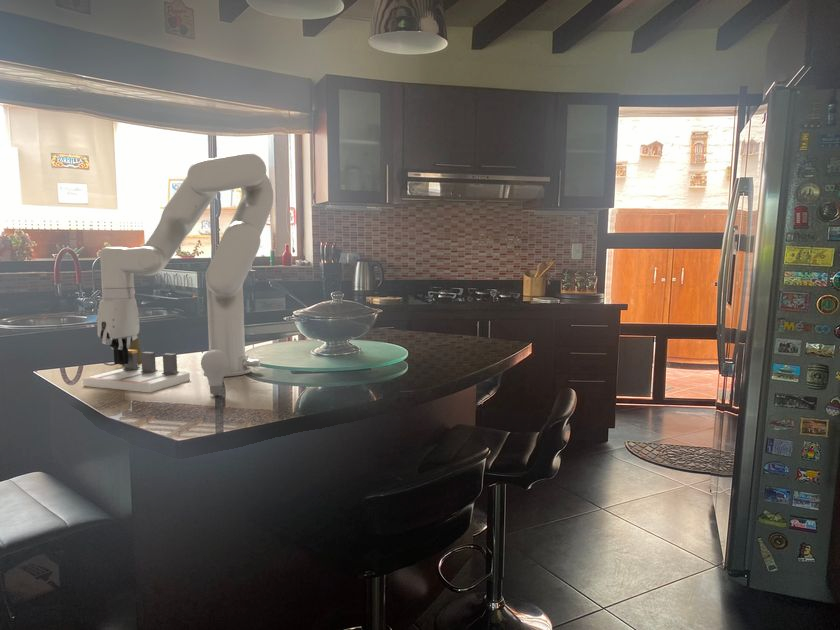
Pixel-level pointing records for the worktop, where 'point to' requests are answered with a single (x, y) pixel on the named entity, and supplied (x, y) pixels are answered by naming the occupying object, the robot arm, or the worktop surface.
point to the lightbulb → (214, 369)
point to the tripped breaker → (131, 360)
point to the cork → (136, 348)
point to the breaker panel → (135, 380)
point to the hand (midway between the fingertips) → (121, 363)
